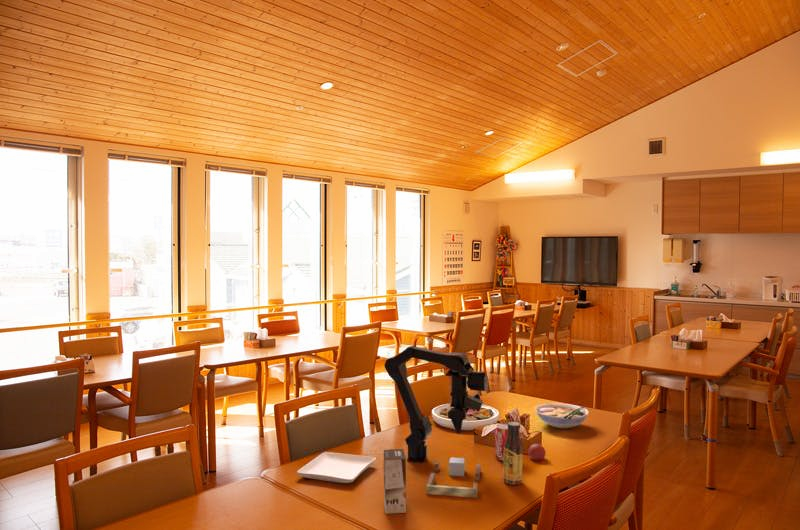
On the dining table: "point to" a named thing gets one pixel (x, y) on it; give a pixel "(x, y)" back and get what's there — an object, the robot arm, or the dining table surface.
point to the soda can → (500, 440)
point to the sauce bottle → (513, 456)
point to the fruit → (536, 452)
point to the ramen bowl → (561, 414)
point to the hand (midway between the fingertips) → (459, 431)
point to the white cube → (457, 466)
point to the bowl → (472, 419)
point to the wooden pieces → (450, 489)
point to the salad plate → (336, 467)
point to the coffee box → (394, 481)
